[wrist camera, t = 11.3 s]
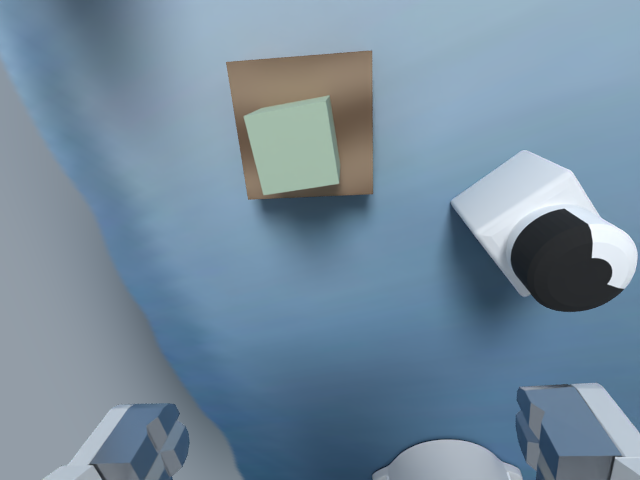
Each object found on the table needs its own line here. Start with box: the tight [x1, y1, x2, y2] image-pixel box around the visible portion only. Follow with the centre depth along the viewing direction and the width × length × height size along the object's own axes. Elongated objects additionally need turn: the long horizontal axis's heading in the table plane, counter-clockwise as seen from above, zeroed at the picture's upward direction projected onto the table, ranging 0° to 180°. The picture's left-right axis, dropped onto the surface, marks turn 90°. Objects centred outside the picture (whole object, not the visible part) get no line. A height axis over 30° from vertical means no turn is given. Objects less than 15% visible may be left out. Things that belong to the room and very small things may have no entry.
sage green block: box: [244, 95, 340, 195], centre depth 25 cm, size 5×5×5 cm
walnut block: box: [226, 51, 373, 200], centre depth 28 cm, size 10×10×4 cm
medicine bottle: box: [451, 150, 637, 312], centre depth 26 cm, size 7×7×12 cm
